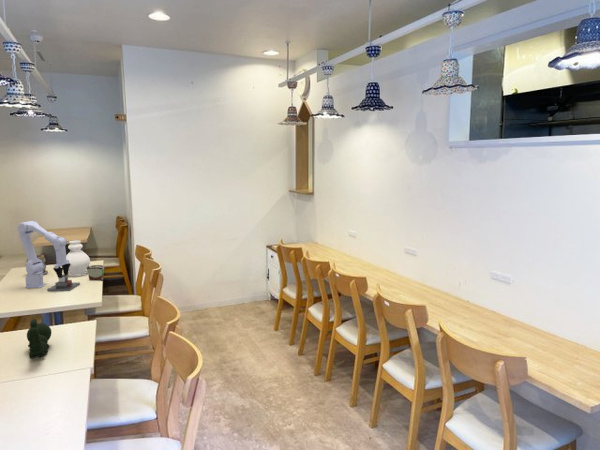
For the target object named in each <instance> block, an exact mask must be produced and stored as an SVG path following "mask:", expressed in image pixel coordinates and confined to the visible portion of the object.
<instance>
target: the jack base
mask: <svg viewBox="0 0 600 450" xmlns="http://www.w3.org/2000/svg"><path fill="white" fill-rule="evenodd" d="M80 285H81V283H80V282H73V281H72V279H68V280H67V281H66V282H59V280H58V281H56V282H55V283H54V285H53V286H50V287H48V288H47V289H46V290H47V292H71V291H72V290H73V289H76V288H77V287H79V286H80Z"/></svg>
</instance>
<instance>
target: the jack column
mask: <svg viewBox="0 0 600 450" xmlns="http://www.w3.org/2000/svg"><path fill="white" fill-rule="evenodd" d="M57 278H58V277H57ZM67 280H69V276H68V275H64V274H62V278H58V281H59V282H66V281H67Z"/></svg>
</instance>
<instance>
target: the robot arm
mask: <svg viewBox="0 0 600 450" xmlns="http://www.w3.org/2000/svg"><path fill="white" fill-rule="evenodd" d="M17 232H18V235H19V239H20V242H21V244H22V247H23V250H24V253H25V256H26V260H27V259H28V262H26V263H25V268H26V269H25V271H26V273H28V274H26V275H25V289H38V288H43V287H45V286H46V285H47V283H44V276H43V274H42V272H43V270H44V269H45V266H44V264H43V263H42V261H41V260H40V259H38V258H37V255H38V254H36V253H37V252H36V250H35V247H34V244H33V241H32V239H31V235H32V233H33V232H36V233H38V234H39V235H41V236H43V237H44V239H45V240H46V241H48V242H50V243H51V244H52V246H53V248H54V251H55V259H56V260H55V261H56V264H55V265H53V266H54V267H53V271H54V272H55V274H56V276H57V278H62V275H68V274H69V267H70V265H71V264H70V263H69V260H66V255H67V251H66V245H67V244H68V241H67V239H66V238H65V237H63V236H59V235H57V234H55V233H54V232H53V231H48V230H46V229H45V228H43V227H42V226H41V225H39V223H38V222H37V221H35V220H29V221H23V222H19V223H18V225H17ZM33 263H36V264H33ZM45 270H46V269H45Z"/></svg>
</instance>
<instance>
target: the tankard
mask: <svg viewBox="0 0 600 450" xmlns="http://www.w3.org/2000/svg"><path fill="white" fill-rule="evenodd" d="M36 255H37V258H38V259H40V260H41V261H42V263H43V264H44V266H45V269H44V270H43V272H42V274H43V277H45V276H47V275H48V273H49V272H48V270H47V264H46V261H47V260H46V257H45V255H44V254H36ZM27 262H28V259H27V258H26V263H27ZM33 264H36V263H33ZM26 273H27V272H26ZM27 274H28V273H27ZM27 274H26V275H27Z"/></svg>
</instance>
